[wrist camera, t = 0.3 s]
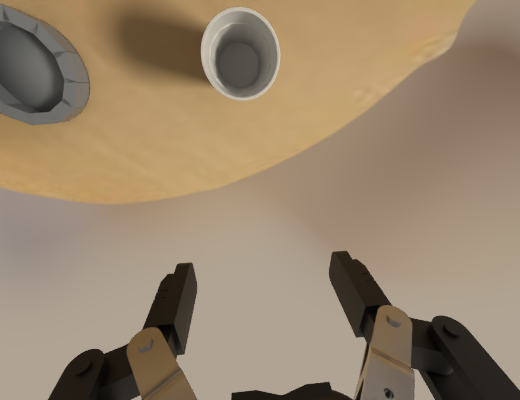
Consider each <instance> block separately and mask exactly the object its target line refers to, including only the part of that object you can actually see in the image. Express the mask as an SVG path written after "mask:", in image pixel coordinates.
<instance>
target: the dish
mask: <svg viewBox="0 0 520 400" xmlns="http://www.w3.org/2000/svg"><path fill="white" fill-rule="evenodd" d="M89 94H90V82H89V77H88V73H87V70H86V67H85V65H84V63H83V61H82V59H81V57H80V55H79V54H78V52H77V51H76V49H75V48H74V47H73V45H72V44H71V43H70V42H69V41H68V40H67V39H66V38H65V37H64V36H63V35H62V34H61V33H60V32H59V31H58V30H56V29H55V28H54V27H53V26H51V25H49V24H48V23H46V22H44V21H42V20H40V19H38V18H35V17H33V16H31V15H29V14H27V13H25V12H23V11H21V10H18V9H15V8H12V7H9V6H6V5H4V4H0V113H2V114H3V115H6V116H9V117H11V118H14V119H17V120H19V121H22V122H24V123H27V124H30V125H41V124H53V123H61V122H65V121H70V120H71V119H72V118H73V117H75V116H77V115H78V114H79V113H80V112H81V111H82V110H83V109H84V108H85V106H86V104H87V102H88V99H89Z"/></svg>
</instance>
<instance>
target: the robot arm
mask: <svg viewBox="0 0 520 400" xmlns="http://www.w3.org/2000/svg"><path fill="white" fill-rule="evenodd" d="M329 277H330V281H331V283H332V286H333V287H334V290H335V292H336V294H337V296H338V299H339V301H340V303H341V305H342V307H343V310H344V312H345V314H346V316H347V318H348V321H349V323H350V325H351V327H352V329H353V332H354V334H355V336H356V337H364V338H365V340H366V342H367V344H366V347H365V352H364V356H363V361H362V366H361V371H360V375H359V380H358V384H357V388H356V391H355V395H354V399H351V398H349V397H348V396H346V395H344V394H342V393H339V392H337V391H334V390H332V389H331V386H330V383H329V382H324V383H315V384H306V385H304V386H302V387H300V388H297V389H295V390H293V391H291V392H289V393H287V394H285V395H277V394H272V393H267V392H262V391H257V390H254V391H245V392H236V393H232V399H231V400H414V386H415V384H414V383H415V374H414V370H413V369H417V370H419V372H420V374H421V376H422V377H423V379H424V381H425V383H426V385H427V386H428V388H429V390H430V392H431V393H432V395H433V397H434V399H435V400H520V390H519V389H518V388H517V387H516V386H515V385H514V383H513V382H512V381H511V380H510V379H509V378H508V376H507V375H506V374H505V373H504V372H503V370H502V369H501V368H500V367H499V366H498V365H497V363H496V362H495V361H494V360H493V359H492V358H491V356H490V355H489V354H488V353H487V352H486V351H485V349H484V348H483V347H482V346H481V345H480V344H479V342H478V341H477V340H476V339H475V338H474V337H473V335H472V334H471V333H470V332H469V331H468V330H467V329H466V327H464V326H463V325H462V324H461V323H459V322H458V321H456V320H454V319H452V318H449V317H447V316H436V317H434V318H433V320H432V321H431V322H428V321H423V320H418V319H414V318H410V317H408V315H407V314H406V313H405V312H403V311H402V310H400V309H399V308H397V307H394V306H392V305H391V303H390V302H389V301H388V299H387V297H386V296H385V295H384V293H383V292H382V290H381V289H380V287H379V286H378V284H377V283H376V281H374V278H373V277H372V275H370V272H369V271H368V270H367V268H366V267H365V265H363V264H362V263H361V262H360V261H358V260H357V259H354V260H352V258H351V257H350V255H349V253H348V252H347V251H337V252H332V256H331V262H330V268H329ZM196 294H197V281H196V277H195V272H194V268H193V264H192V263H180V264H177V266H176V269H175V272H174V274H168V275H167V276H166V277H165V278H164V279H163V280H162V281H161V283H160V286H159V289H158V292H157V294H156V296H155V300H154V302H153V304H152V306H151V309H150V312H149V314H148V317H147V319H146V322H145V324H144V327H143V329H142V331H140V332H139V333H137V334H136V335H135V336H134V337H133V338H132V339H131V341H130V342H129V343H128V344H127V345H125V346H123V347H120V348H118V349H115V350H113V351H110V352H108V353H105V354H104V353H103V352H102V351H101V350H99V349H91V350H88V351H85V352H83V353H81V354H80V355H78V356H77V357H76V358H74V359H73V360H72V361H71V362H70V363H69V364H68V366H67V367H66V368H65V370H64V372H63V373H62V375H61V377H60V379H59V381H58V383H57V384H56V386H55V388H54V390H53V391H52V393H51V395H50V397H49V399H48V400H131V399H133V398H135V397H137V396H139V395H141V398H142V400H197V398H196V396H195V394H194V392H193V390H192V388H191V386H190V385H189V382H188V380H187V379H186V377H185V375H184V373H183V371H182V369H181V368H180V367H179V365H178V363H177V362H176V358H177V355H182V354H184V353H185V348H186V343H187V338H188V333H189V329H190V324H191V318H192V313H193V309H194V304H195V298H196ZM411 368H413V369H411Z"/></svg>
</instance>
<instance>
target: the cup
mask: <svg viewBox="0 0 520 400" xmlns="http://www.w3.org/2000/svg"><path fill="white" fill-rule="evenodd" d="M201 61H202V66H203V69H204V72H205V74H206V76H207V78H208V80H209V81H210V83H211V84H212V85H213V87H214V88H215V89H216V90H217V91H218V92H220V93H221V94H222V95H224V96H226V97H228V98H230V99H234V100H239V101H245V100H251V99H254V98H256V97H258V96H260V95H262V94H263V93H264V92H265V91H267V89H268V88H269V87H270V86H271V85H272V83H273V81H274V80H275V78H276V75H277V72H278V69H279V64H280V48H279V43H278V39H277V36H276V34H275V32H274V30H273V28H272V26H271V25H270V24H269V22H268V21H267V20H266V19H265V18H264V17H263V16H262V15H260V14H259V13H258V12H256V11H254V10H252V9H249V8H245V7H232V8H228V9H225V10H223V11H221V12H220V13H218V14H217V15H216V16H215V17H214V18H213V19H212V20H211V21H210V22H209V24H208V26H207V27H206V29H205V32H204V34H203V37H202V42H201Z"/></svg>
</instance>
